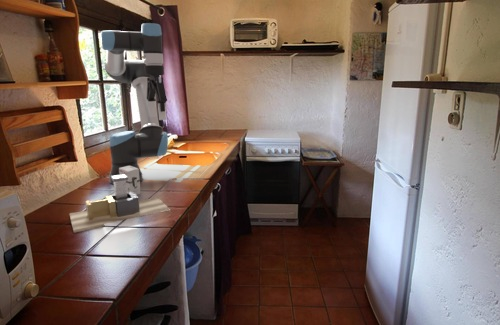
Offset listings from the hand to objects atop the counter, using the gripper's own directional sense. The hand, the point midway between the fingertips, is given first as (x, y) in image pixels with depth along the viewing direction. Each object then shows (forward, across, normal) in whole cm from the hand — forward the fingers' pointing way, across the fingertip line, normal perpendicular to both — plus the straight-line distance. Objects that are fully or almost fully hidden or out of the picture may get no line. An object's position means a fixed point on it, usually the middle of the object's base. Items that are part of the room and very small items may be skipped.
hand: (157, 118), depth 141 cm
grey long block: (+31, +18, -20) cm, 41 cm away
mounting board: (+32, +18, -20) cm, 42 cm away
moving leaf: (+31, +18, -27) cm, 45 cm away
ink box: (+32, -2, -13) cm, 35 cm away
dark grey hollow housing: (+31, +18, -19) cm, 40 cm away
